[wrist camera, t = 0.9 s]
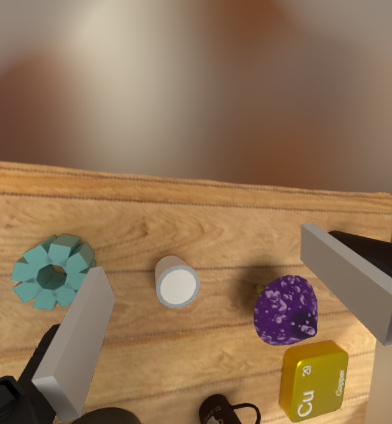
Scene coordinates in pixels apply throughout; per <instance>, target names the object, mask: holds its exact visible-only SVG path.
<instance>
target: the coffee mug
mask: <svg viewBox="0 0 392 424" xmlns="http://www.w3.org/2000/svg"><path fill="white" fill-rule="evenodd" d="M243 407H252V408H254V409H255V410H256V412H257V420H256V423H255V424H260V420H261V415H260V412H259V409H258V408H257V407H256V406H255V405H253V404H250V403H243V404H238V405H233V406H232V405H230V404H229V402H228V401H227V399H226V398H225V396H223V395H220V394H216V395H212V396H210V397H208V398H207V399H206V400H205V401H204V402H203V403H202V405H201V407H200V410H199V416H200V421H201V424H242V423H241V422H240V420H239V418H238V417H237V415H236V414H235V412H234V409H238V408H243Z"/></svg>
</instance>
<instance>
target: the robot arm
mask: <svg viewBox="0 0 392 424" xmlns="http://www.w3.org/2000/svg"><path fill="white" fill-rule="evenodd" d="M300 259H301V260H302V261H303V262H304V263H305V264H306V265H307V267H308V268H309V269H310V270H311V271H312V272H313V273H314V274H315V275H316V276H317V277H318V278H319V279H320V280H321V281H322V282H323V283H324V284H325V285H326V286H327V287H328V288H329V289H330V290H331V291H332V293H333V294H334V295H335V296H336V297H337V298H338V299H339V300H340V301H341V302H342V303H343V304H344V305H345V306H346V307H347V308H348V309H349V310H350V311H351V312H352V313H353V314H354V315H355V316H356V318H357V319H358V320H359V321H360V322H361V323H362V324H363V325H364V326H365V327H366V328H367V329H368V330H369V331H370V332H371V333H372V334H373V335H374V336H375V337H376V338H377V339H378V340H379V341H380V342H381V343H382V344H383V346H386V345H390V344H392V269H390V268H389V267H388V266H386V265H385V264H383V263H382V262H380V261H378V260H376V259H373V258H371V257H363V258H362V257H361V256H360V255H358V254H357V253H355V252H354V251H352V250H351V249H350V248H348V247H347V246H345V245H344V244H342V243H341V242H340V241H338V240H337V239H335V238H334V237H332V236H331V235H330V234H328V233H327V232H325V231H324V230H323V229H321V228H320V227H318V226H317V225H315V224H314V223H313V222H312V223H307V224H302V225H301V256H300ZM114 302H115V296H114V294H113V291H112V289H111V286H110V284H109V281H108V279H107V276H106V274H105V271H104V269H103V266H99V267H94V268H90V269H89V271H88V273H87V275H86V277H85V279H84V281H83V283H82V285H81V287H80V289H79V290H78V292H77V294H76V296H75V298H74V300H73V302H72V304H71V306H70V308H69V310H68V311H67V313H66V315H65V317H64V319H63V321H62V323H61V324H57V325H53V326H52V327H51V328H50V329H49V330H48V331H47V332H46V334H45V335H44V336H43V338H42V340H41V341H40V343H39V345H38V348H36V350H35V352H34V353H33V356H32V357H31V359H30V360H29V362H28V364H27V366H26V367H25V369H24V371H23V373H22V374H21V376H20V378H19V379H18V381H16V380H15V378H14V377H13V376H4V377H1V378H0V424H53V421H54V418H55V416H56V415H57V416H58V418H59V419H60V420H61V422H64V421H69V420H73V419H77V418H79V419H78V420H76V421H75V422H74V423H72V424H141V423H140V421H139V420H138V419H137V418H136V416H134V415H133V414H132V413H130V412H128V411H125V410H122V409H116V408H108V409H101V410H97V411H94V412H91V413H89V414H86V415H84V416H83V417H81V415H82V412H83V408H84V405H85V401H86V398H87V394H88V391H89V388H90V384H91V381H92V377H93V374H94V370H95V367H96V364H97V360H98V357H99V353H100V350H101V346H102V343H103V340H104V336H105V333H106V329H107V326H108V322H109V319H110V316H111V312H112V309H113V305H114Z"/></svg>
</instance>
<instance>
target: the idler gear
mask: <svg viewBox="0 0 392 424" xmlns="http://www.w3.org/2000/svg"><path fill="white" fill-rule="evenodd" d="M79 239H80V237H76V236H71V235H67V234H63V235H61V236H60V237H59V238H57V237H56V235H54V236H52V237H50V238H48V239H46V240H44V241H42V242H40V243H39V244H37V245H36V246H34V247H33V248H31V249H30V250H28V251H27V252H25V253H24V254H22V255H23V257H22V258H21V259H19V260H18V261H16V262H15V266H14V269H13V273H12V276H11V280H13V281H20V282H19V283H18V284H17V285H16V286H15V287H14V288H12V289H13V290H14V292H15V293H16V294H17V295H18V296H19V298H20V299H21V300H22V301H23V303H25V302H27V301H29V300H31V299H33V298H34V297H35V301H34V304H33V308H40V309H48V310H53V309H54V307H55V306H56V304H57V302H58V303H59V304H60V305H61V307H62V308H63V307H65V306H67V305H69V304H70V303H72V302H73V300H74V298H75V296H76V294H77V292H78V290H79V289H80V287H81V285H82V283H83V281H84V279H85V277H86V275H87V273H88V271H89V269H90V268H94V265H95V260H92V259H93V256H94V252H93V251H92V249H91V248H90V246H89V245H88V243H87V242H85V243H83V244H81V245H79V246H78V243H79ZM51 264H53V265H58V266H62V268H63V269H64V270H65V272H66V273H61V272H56V271H55V269H54V268H53V267H52V265H51Z"/></svg>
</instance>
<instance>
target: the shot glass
mask: <svg viewBox="0 0 392 424" xmlns="http://www.w3.org/2000/svg"><path fill="white" fill-rule="evenodd" d="M155 283H156V295H157V297H158V299H159V301H160V302H161V303H162V304H164V305H165V306H166V307H170V308H180V307H184V306H186V305H188V304H189V303H191V302H192V301H193V300H194V298H195V297H196V296H197V294H198V291H199V288H200V279H199V277H198V275H197V273H196V272H195V271H194V270H193V269H192V268H191V267H190V266H188V265H187V264H186V263H185V262H184V261H183V260H181V259H180V258H179V257H177V256H173V255H171V256H166V257H164V258H162V259H161V260H160V261H159V262H158V263H157V265H156V267H155Z"/></svg>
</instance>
